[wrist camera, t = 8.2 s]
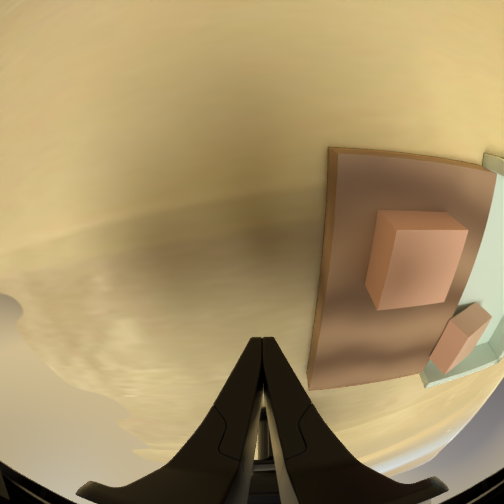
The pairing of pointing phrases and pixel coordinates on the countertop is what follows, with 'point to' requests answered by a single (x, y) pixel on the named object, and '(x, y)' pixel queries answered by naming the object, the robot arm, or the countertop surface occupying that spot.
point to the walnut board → (358, 256)
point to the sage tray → (483, 290)
